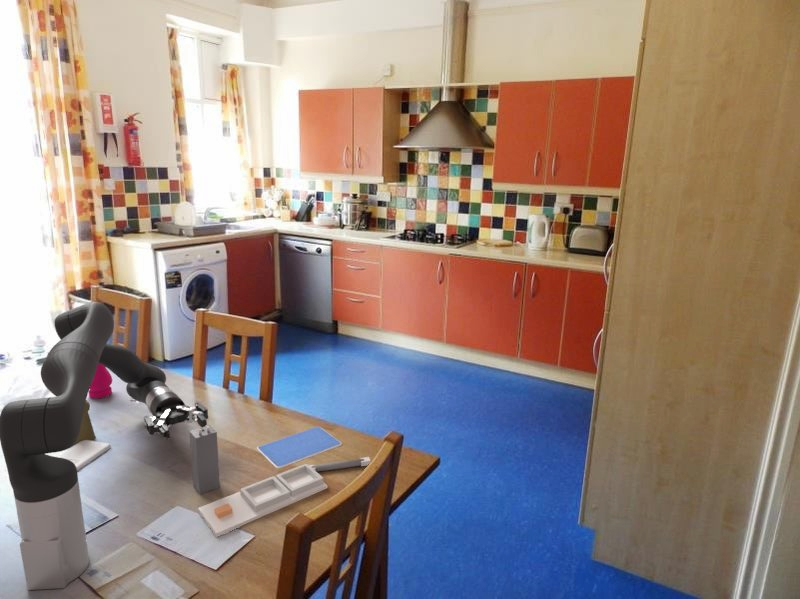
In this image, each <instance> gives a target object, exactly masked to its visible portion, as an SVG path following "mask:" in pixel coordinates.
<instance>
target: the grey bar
mask: <svg viewBox="0 0 800 599" xmlns="http://www.w3.org/2000/svg"><path fill="white" fill-rule="evenodd" d="M370 462H372V461H371V459H370V457H369V456H365V457H359V458H356V459H350V460H342V461H336V462H329V463H322V464H321V463H320V464H308V465H309V466H310V467H311V468H313V469H314V470H315V471H316V472H317V473H318V472H326V471H333V470H339V469H346V468H353V467H368V466H369V465H368V464H369V463H370ZM305 472H306V469H305Z"/></svg>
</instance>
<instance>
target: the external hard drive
mask: <svg viewBox="0 0 800 599" xmlns="http://www.w3.org/2000/svg"><path fill="white" fill-rule="evenodd" d="M111 446H112V445H111V444H110V443H108V442H101V441H95V440H93V441H90V440H84V441H81V442H79V443H78V444H76V445H75V446H72V447H71V448H69V449H67V450H64V452H62V453H60V454H59V455H58V456H56V457H59V458H64V459H67V460H70V461H71V462H73V463H74V464H75V466H76V468H77V472H78V471H79V470H81V469H82V468H84V467H85V466H86V465H88V464H89V463H91V462H92V461H94V460H95V459H97V458H98V457H99V456H100V455H102V454H104V453H105V452H106V451H108V450H110V449H111V448H112V447H111Z"/></svg>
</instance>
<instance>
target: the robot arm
mask: <svg viewBox="0 0 800 599" xmlns="http://www.w3.org/2000/svg"><path fill="white" fill-rule="evenodd" d="M114 321H115V320H114V316H113V314H112V312H111V310H110V309H109V308H108V307H107V305H105V304H104V303H101V302H99V301H91V302H86V303H84V304H82V305H79V306H76V307H75V308H72V309H69V310H66V311H64V312H62V313H61V314H58V315H57V316H56V317H55V319H54V329H55V332H56V334H57V336H58V338H59V339H60V340H59V341H58V342H56V343H55V345H53V346H52V348H50V350H49V351H48V354H47V355H46V357H45V360H44V361H43V363H42V366H41V369H40V378H41V380H42V383H43V384H44V386H45V388H46V389H47V390H48V391H49V392H50V393H51V394H52V395H54V396H51V397H39V398H31V399H22V400H15V401H10V402H9V403H7V404H6V405H5V406H4V407H3V408H2V409H1V411H0V446H1V447H0V448H1V450H2V454H3V458H4V461H5V466H6V469H7V474H8V479H9V483H10V487H11V488H12V490H13V491H12V492H13V497H14V501H15V502H14V503H15V508H16V514H17V520H18V526H19V533H20V538H21V542H20V543H19V549H20V554H21V560H22V566H23V572H24V576H25V584H26V590H27V591H31V590H32V591H34V590H49V589H50V590H53V589H66V588H67V586H68V585H69V583H71V582H73V581H74V580H75V579H77V578H78V577H79V576H81V575H82V574H83V573H84V572H85V570H86V569H87V568H88V566H89V563H90V556H89V548H88V540H87V534H86V527H85V519H84V512H83V506H82V498H81V490H80V483H79V475H78V471H77V468H76V466H75V464H74V463H73V462H71V461H70V460H67V459H64V458H59V457H57V456H54V455H49V454H52V453H54V454H55V453H59V452H63V451H64V452H65V451H67V450H68V449H70V448H71V447H73V445H74V444H75V442H76V440H77V438H78V436H79V433H80V429H81V424H82V419H83V413H84V408H85V403H86V400H87V396H89V390H90V389H89V388H90V386H91V383H92V381H93V378H94V376H95V373H96V370H97V367H98V363H100V364H102V365H103V366H105V367H106V369H107V370H108V371H110V372H111V373H112V374H114V375H115V376H116V377H118V378H119V379H120V380H121V381H122V382H123V383H126V388H125V389H126V393H127V394H128V396H129V397H130V398H131V399H133V400H134V401H137V402H140V403H143V404H145V406H146V407H147V409H148V411H149V413H150V414H151V415H152V416H153V417H152V416H149V415H145V416H144V417H143V424H144V428H145V430H146V431H147V434H148V435H149V436H153V435H155V433H157V434H159V435H160V436H161V437H162V438H164V439H166V440H167V439H171V438H170V430H169V428H170V426H173V425H176V424H179V423H189V424H192V423H193V422H194V423H197V424H198V426H200V428H201V427H205V426H208V419H209V408H207V407H206V406H204V405H203V404H202V403H201V402H199V401H196V402H195V403H194V405H192V406H189V405H186V404H185V402H184V400H182V399H181V397H180V396H178V394H177V393H176V392H175V391H174V390H172V389H170V387H169V386H168V385H167V384H166V381H167V376H166V374H165V372H164V371H163V370H162V369H161V368H160V367H157V366H155V365H153V364H150V363H148V362H145V361H143V360H142V359H141V357H139V356H138V355H137V354H136V353H135V352H133V351H132V350H131V349H129V348H127V347H124V346H121V345H116V344H112V343H108V342H109V340H110V338H111V337H112V335H113V333H114V328H115V322H114ZM155 423H157V424H155Z"/></svg>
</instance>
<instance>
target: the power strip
mask: <svg viewBox="0 0 800 599" xmlns="http://www.w3.org/2000/svg"><path fill="white" fill-rule="evenodd" d="M309 465H310V464H308V463H306V462H305V463H304V464H301V465H298V466H296V467H293V468H290V469H287V470H286V471H282V472H281V473H280V472H279V473H278V474H275V476H274V475H273V476H270V477H267V478H265V479H262V480H260V481H257V482H254V483H252V484H249V485H247V486H243V487H242V488H239V491H238V492H235V493H232V494H230V495H228V496H224V497H222V498H219V499H217V500H215V501H212V502H209V503H207V504H204V505H202V506H200V507H197V512H198V514H199V515H200V516H201V518H202V517H203V518H204V519H203V518H202V519H203V521H204V520H205V521H206V522H207V523H206V522H205V521H204V522H205V523H206V524H208V525H209V526H208V525H207V526H208V528H209V527H210V528H211V529H210V528H209V529H210V530H211V532H212V531H213V532H212V533H213V535H214V536H215V535H216V536H215V538H219V537H221V536H220V535H222V536H223V534H224V535H225V533H226V534H228V533H230V532H229V531H231V532H232V530H233V531H235V530H237V529H236V528H238V529H240V528H241V526H243V525H244V526H245V524H248V523H251V522H252V521H256V520H257V519H259V518H262V517H264V516H267V515H269V514H271V513H273V512H275V511H278V510H281V509H283V508H286V507H288V506H290V505H292V504H294V503H297V502H298V501H301V500H303V499H306V498H308V497H310V496H312V495H315V494H317V493H319V492H321V491H324V490H326V489H328V485H327V484H326V482H324V477H323V476H322V475H321V474H320V473H318V472H316V471H315V470H314V469H313V468H311V467H310V466H309ZM305 469H306V472H305ZM234 529H235V530H234ZM227 532H228V533H227ZM218 536H219V537H218Z"/></svg>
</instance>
